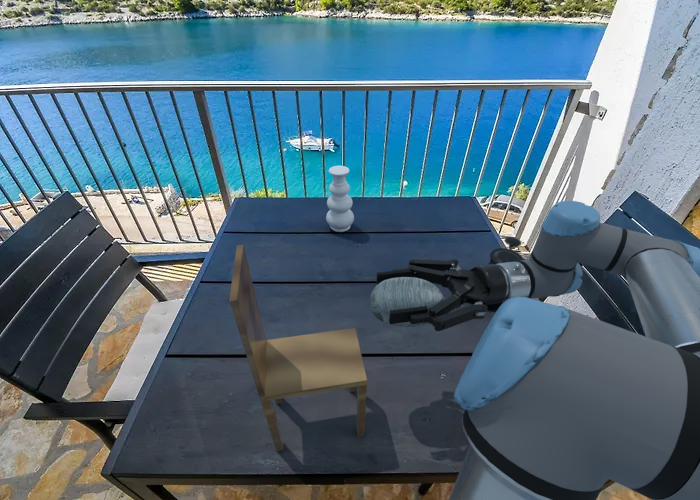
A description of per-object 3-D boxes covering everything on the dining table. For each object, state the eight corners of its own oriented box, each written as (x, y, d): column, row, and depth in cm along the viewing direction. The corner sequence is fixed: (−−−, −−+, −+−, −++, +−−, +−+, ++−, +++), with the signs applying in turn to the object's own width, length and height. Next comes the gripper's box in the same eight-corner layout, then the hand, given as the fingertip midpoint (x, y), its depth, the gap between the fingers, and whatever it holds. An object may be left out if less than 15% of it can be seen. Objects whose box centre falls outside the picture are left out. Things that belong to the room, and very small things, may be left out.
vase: (356, 221, 142) (357, 164, 126) (350, 237, 134) (350, 177, 118) (330, 218, 144) (328, 161, 128) (323, 233, 136) (319, 174, 120)
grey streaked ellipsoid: (363, 330, 66) (382, 318, 58) (362, 283, 70) (379, 265, 62) (428, 334, 70) (455, 323, 61) (423, 288, 74) (448, 272, 65)
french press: (501, 287, 112) (523, 229, 98) (515, 309, 104) (541, 249, 90) (466, 290, 111) (483, 231, 97) (478, 313, 103) (498, 253, 89)
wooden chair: (364, 435, 76) (372, 283, 48) (276, 451, 74) (228, 300, 45) (354, 385, 85) (356, 233, 57) (276, 397, 83) (236, 245, 54)
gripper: (476, 234, 73) (371, 245, 70) (537, 312, 56) (401, 331, 53) (469, 261, 77) (369, 272, 74) (522, 341, 60) (397, 360, 58)
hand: (383, 297), depth 64 cm, fingers closed on grey streaked ellipsoid, 9 cm apart
